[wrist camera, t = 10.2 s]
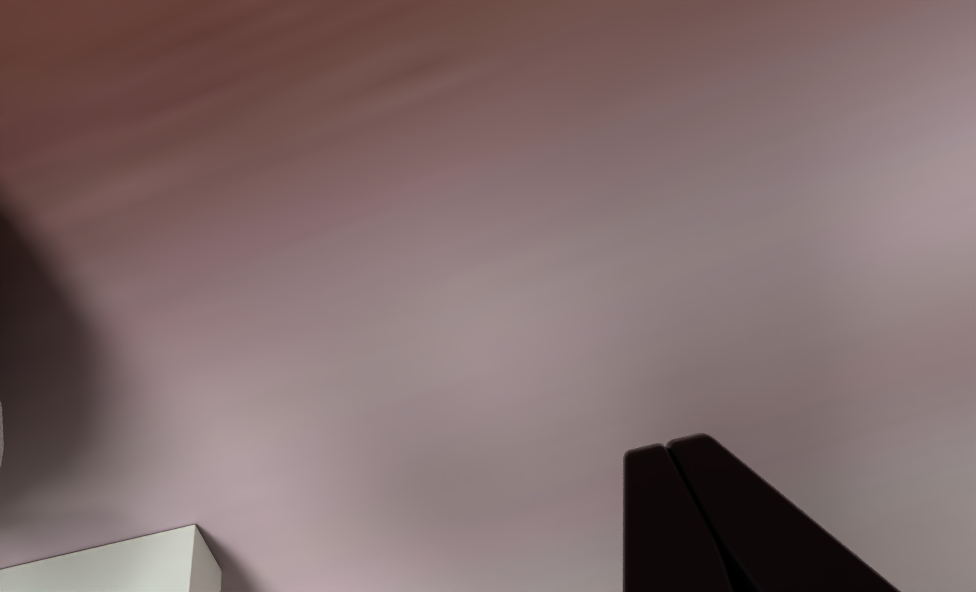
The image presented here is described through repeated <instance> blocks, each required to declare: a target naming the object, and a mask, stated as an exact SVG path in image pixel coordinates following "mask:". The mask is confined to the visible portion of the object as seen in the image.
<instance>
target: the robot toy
mask: <svg viewBox="0 0 976 592" xmlns="http://www.w3.org/2000/svg"><path fill="white" fill-rule="evenodd" d="M3 449H4V441H3V420H2V406H1V402H0V468H1V462H2V456H3Z"/></svg>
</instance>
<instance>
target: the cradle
mask: <svg viewBox="0 0 976 592" xmlns="http://www.w3.org/2000/svg"><path fill="white" fill-rule="evenodd" d="M221 577H222V571H221V569H220V567H219V566H218V564H217V562H216V560H215V559H214V557H213V555H212V553H211V552H210V550H209V548H208V546H207V544H206V543H205V541H204V539H203V537H202V536H201V534H200V532H199V530H198V529H197V527H196V525H191V526H186V527H182V528H178V529H173V530H169V531H165V532H160V533H156V534H152V535H148V536H143V537H139V538H135V539H130V540H126V541H122V542H117V543H113V544H109V545H104V546H100V547H96V548H91V549H87V550H83V551H79V552H74V553H70V554H66V555H61V556H57V557H53V558H48V559H44V560H40V561H35V562H31V563H27V564H23V565H18V566H14V567H10V568H5V569H1V570H0V592H221Z"/></svg>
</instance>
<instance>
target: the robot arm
mask: <svg viewBox="0 0 976 592" xmlns="http://www.w3.org/2000/svg"><path fill="white" fill-rule="evenodd" d="M623 592H900V591H899V590H898V589H897V588H896V587H894V586H893V585H892V584H891V583H889V582H888V581H887V580H886V579H885V578H883V577H882V576H881V575H880V574H878V573H877V572H876V571H875V570H874V569H872V568H871V567H870V566H869V565H868V564H866V563H865V562H864V561H863V560H861V559H860V558H859V557H858V556H857V555H855V554H854V553H853V552H852V551H850V550H849V549H848V548H847V547H846V546H844V545H843V544H842V543H841V542H840V541H838V540H837V539H836V538H835V537H833V536H832V535H831V534H830V533H829V532H827V531H826V530H825V529H824V528H822V527H821V526H820V525H819V524H818V523H816V522H815V521H814V520H813V519H811V518H810V517H809V516H808V515H807V514H805V513H804V512H803V511H802V510H801V509H799V508H798V507H797V506H796V505H794V504H793V503H792V502H791V501H790V500H788V499H787V498H786V497H785V496H783V495H782V494H781V493H780V492H779V491H777V490H776V489H775V488H774V487H772V486H771V485H770V484H769V483H768V482H766V481H765V480H764V479H763V478H762V477H760V476H759V475H758V474H757V473H755V472H754V471H753V470H752V469H751V468H749V467H748V466H747V465H746V464H744V463H743V462H742V461H741V460H740V459H738V458H737V457H736V456H735V455H734V454H732V453H731V452H730V451H729V450H727V449H726V448H725V447H724V446H723V445H721V444H720V443H719V442H718V441H716V440H715V439H714V438H713V437H711V436H709V435H707V434H703V433H701V434H695V435H691V436H686V437H682V438H678V439H674V440H671V441H669V442H668V443H667V444H666V447H665V446H664V445H662V444H653V445H648V446H644V447H640V448H636V449H631V450H628V451H627V452H626V453H625V454H624V459H623Z"/></svg>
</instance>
